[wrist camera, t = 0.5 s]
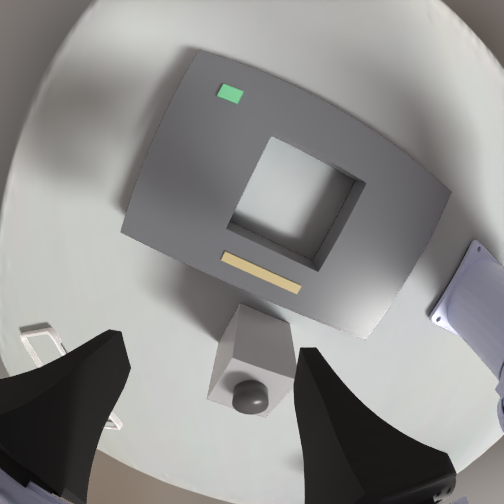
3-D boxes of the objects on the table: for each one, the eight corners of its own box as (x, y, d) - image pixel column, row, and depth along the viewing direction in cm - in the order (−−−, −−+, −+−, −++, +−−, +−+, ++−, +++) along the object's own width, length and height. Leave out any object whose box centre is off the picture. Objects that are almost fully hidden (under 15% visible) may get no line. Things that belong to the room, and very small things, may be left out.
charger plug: (289, 323, 19) (300, 392, 13) (264, 360, 21) (265, 429, 14) (239, 303, 19) (230, 370, 12) (218, 342, 20) (204, 411, 14)
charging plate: (435, 188, 16) (453, 192, 14) (357, 325, 19) (366, 341, 17) (205, 61, 14) (198, 48, 12) (133, 224, 17) (118, 232, 15)
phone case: (24, 330, 22) (87, 419, 26) (18, 336, 21) (84, 425, 25) (56, 324, 21) (125, 422, 26) (49, 330, 20) (122, 430, 24)
